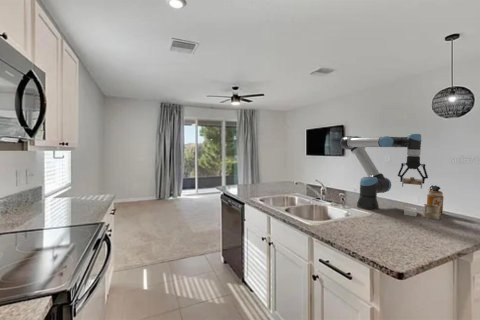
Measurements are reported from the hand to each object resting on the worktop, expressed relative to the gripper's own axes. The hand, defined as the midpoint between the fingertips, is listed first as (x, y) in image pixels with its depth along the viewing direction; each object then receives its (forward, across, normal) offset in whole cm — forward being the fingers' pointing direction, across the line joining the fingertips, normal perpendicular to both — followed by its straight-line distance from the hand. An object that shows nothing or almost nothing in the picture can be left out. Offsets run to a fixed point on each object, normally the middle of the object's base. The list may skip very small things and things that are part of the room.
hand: (411, 187), depth 168 cm
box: (+19, +12, 0) cm, 22 cm away
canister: (+19, +14, +13) cm, 27 cm away
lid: (-3, 0, 0) cm, 3 cm away
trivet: (+19, 0, 0) cm, 19 cm away
